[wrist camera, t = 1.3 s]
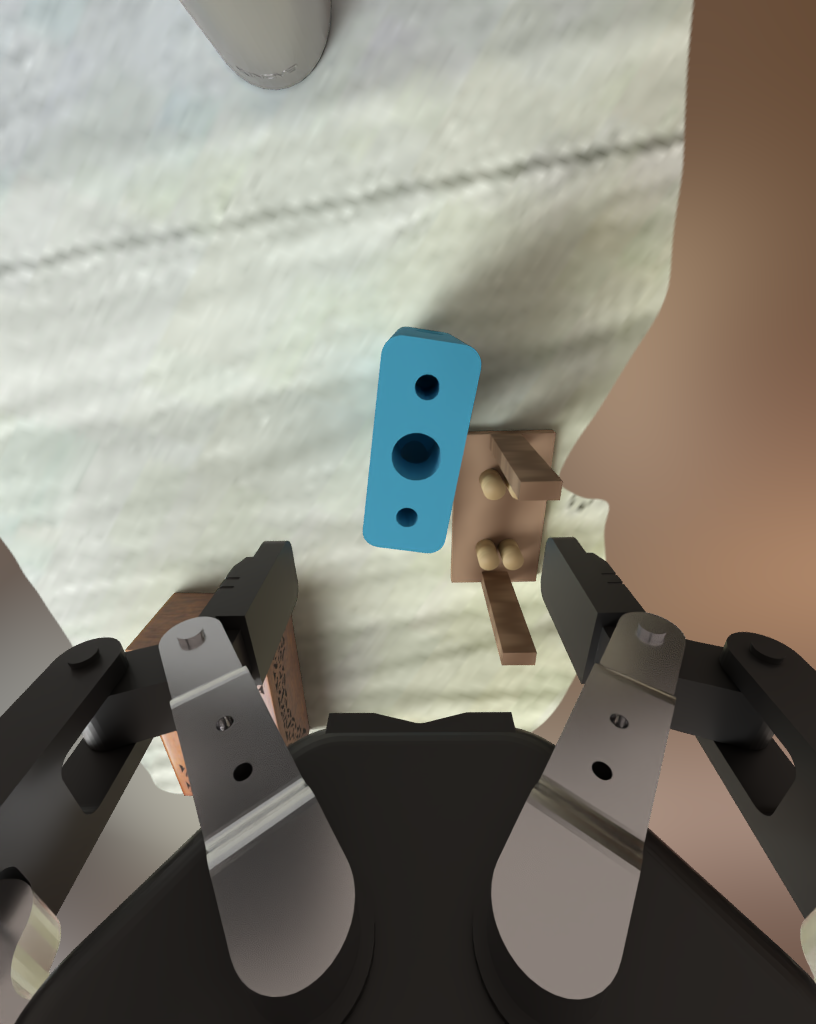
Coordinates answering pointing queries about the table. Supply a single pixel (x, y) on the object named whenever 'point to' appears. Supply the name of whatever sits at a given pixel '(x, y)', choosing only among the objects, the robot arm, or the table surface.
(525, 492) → the peg stand
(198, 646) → the robot arm
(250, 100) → the table surface
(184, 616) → the tissue box cover
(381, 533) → the block
